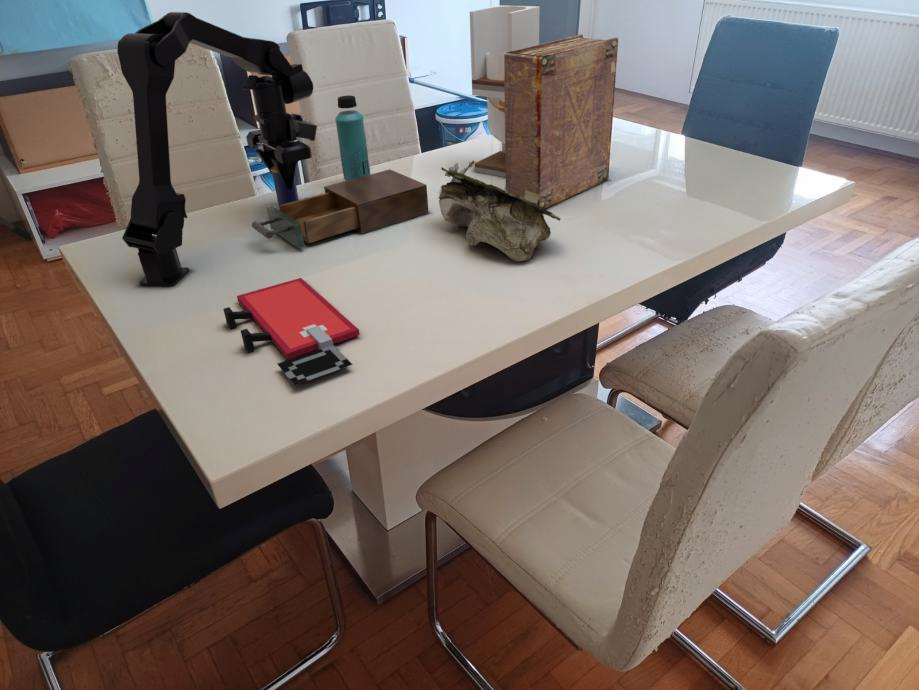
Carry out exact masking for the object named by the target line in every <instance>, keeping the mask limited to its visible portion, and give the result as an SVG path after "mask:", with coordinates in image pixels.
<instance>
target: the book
mask: <svg viewBox="0 0 919 690" xmlns="http://www.w3.org/2000/svg"><path fill="white" fill-rule="evenodd" d="M618 49H619V38H618V37H612V38H608V39H607V38H606V39H601V38H600V39H598V38H586V37H584V35H583V34H577V35H572V36H569V37H564V38H561V39H557V40H552V41H549V42H544V43H539V45H536V46H532V47H527V48H523V49H519V50H515V51H511V52H507V53H505V54H504V79H505V174H506V177H505V191H507V192H509V193H511V194H513V195H516V196H520V197H523V198H524V199H526V200H528V201H530V202H532V203H536V204H537V205H539V206H541V207H542V208H544V209H546V210H547V209H549V208H551V207H553V206H555V205H558V204H560V203H562V202H564V201H567V200H569V199H571V198H573V197H575V196H577V195H579V194H582V193H583V192H586V191H588V190H590V189H592V188H595V187H597V186H598V185H601V184H603V183H605V182H607V181H609V176H610V165H611V163H610V162H611V161H610V160H611V148H612V147H611V146H612V135H613V119H614V105H615V90H616V80H617V79H616V78H617V63H618Z"/></svg>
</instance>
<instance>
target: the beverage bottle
mask: <svg viewBox="0 0 919 690" xmlns="http://www.w3.org/2000/svg"><path fill="white" fill-rule="evenodd" d="M357 106H358V105H357V100H356V96H355V95H349V94H348V95H341V96H339V97H337V108H338V109H349V110H343V111H340V112H339V113H337V115H336V116H335V118H334V120H335V125H336V133H337V141H338V149H339V155H340V163H341V169H342V170H341V171H342V176H343V179H344V181H348V180H352V179H355V178H359V177H363V176H367V175H371V174H372V173H371V167H370V166H371V163H370V159H369V152H368V146H367V136H366V131H365V123H364V116H363V114H362V113H360V112H359V111H358V110H353V108H355V107H357ZM351 109H352V110H351Z"/></svg>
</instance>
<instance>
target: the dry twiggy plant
mask: <svg viewBox="0 0 919 690" xmlns="http://www.w3.org/2000/svg"><path fill="white" fill-rule="evenodd" d="M474 163H476V161H475V160H472V161H469V162H468V165H467V166H466V167H463V168H462V169H461V170H459V169H460V166H459V162H455V163H454V164H453V166H449V167H448V170H450V171H451V170H453V171H456V172H458V173H462V174H464V175H466V173H467V171H468V170H469V169H470V168H471V167H472V166H474ZM458 170H459V171H458ZM447 176H449V177H448V178H450V177H451V176H450V175H449V174H447V172H446V171H445V173H444V177H447ZM449 182H461V181H460V180H459V181H458V179H455V178H454V177H451V180H450V181H449Z"/></svg>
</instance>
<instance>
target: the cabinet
mask: <svg viewBox="0 0 919 690" xmlns="http://www.w3.org/2000/svg"><path fill="white" fill-rule="evenodd" d="M427 185H428V184H426V183H423V182H421V181H419V180H416V179H414V178H412V177H410V176H406V175H405V174H402V173H400V172H397V171H395V170H393V169H386V170H382V171H379V172H374V173H370V175H367V176H363V177H359V178H355V179H352V180H348V181H345V180H344V181H341V182H337V183H334V184H330V185H329V184H328V185H326V186H323V189H324V193H327V192H330V193H332V194H334V195H336V196H338V197H340V198H342V199H344V200H345V201H347V202H349V203H351V204H353V205H355V206H357V211H358V219H359V226H360V228H357V229H353V230H354V231H355V232H357V233H359V234H360V235H365V234H367V233H370V232H374V231H377V230H380V229H383V228H387V227H389V226H393V225H396V224H399V223H402V222H406V221H408V220H409V221H410V220H412V219H415V218H419V217H422V216H425V215H428V214H429V213H430V212H429V200H428V199H429V198H428V186H427Z"/></svg>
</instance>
